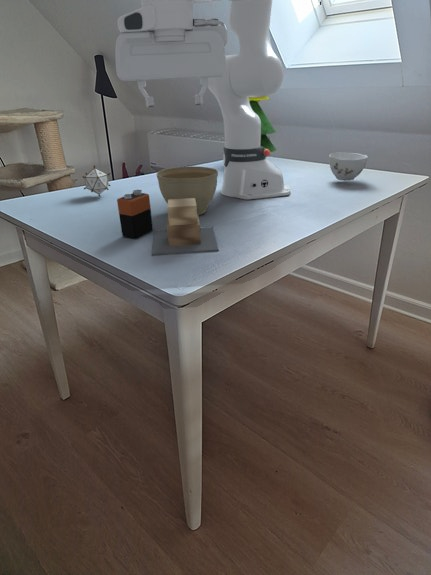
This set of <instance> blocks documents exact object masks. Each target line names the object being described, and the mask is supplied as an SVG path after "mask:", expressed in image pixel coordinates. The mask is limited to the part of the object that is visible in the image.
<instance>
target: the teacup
mask: <svg viewBox="0 0 431 575" xmlns="http://www.w3.org/2000/svg"><path fill="white" fill-rule="evenodd" d="M367 161H368V155H366V154H362V153H356V152H344V151H343V152H341V151H339V152H333V153H330V154H329V155H328V162H329V168H330V171H331V172H332V174H333V175H334V176H335V178H336V179H337V180H339V181H346V182H348V181H354V180H355V178H357V177H358V176H359V175H360V174H361V173H362V171H363V170H364V169H365V167H366V164H367Z"/></svg>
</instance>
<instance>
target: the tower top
mask: <svg viewBox="0 0 431 575" xmlns="http://www.w3.org/2000/svg"><path fill="white" fill-rule="evenodd" d="M167 215H168V216H169V226H172V225H188V224H197V207H196V201H195V198H187V199H169V200H168V204H167Z"/></svg>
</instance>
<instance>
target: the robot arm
mask: <svg viewBox="0 0 431 575" xmlns="http://www.w3.org/2000/svg"><path fill="white" fill-rule="evenodd" d="M217 1H218V2H219V1H220V0H140V4H141V7H140V8H137V9H135V10H133V11H130V12H128V13H125V14H123V15H121V16H119V17H118V18H117V22H116V23H117V29H118V31H119V32H120V33H119V35H118V37H117V38H116V41H115V49H114V50H115V51H114V52H115V53H114V54H115V55H114V56H115V71H116V75H117V77H118V79H119V80H120V81H121V82H133V81H134V82H135V81H137V88H138V90H139V91H140V93H141V94H142V96H143V97H144V99H145V107H146V108H148V109H149V108H155V102H154V101H155V100H154V96H150V95H149V94H148V93H147V91H146V89H145V88H147V82H146V81H154V80H181V79H199V84H200V85H202V87H201V88H200V91H199V93H198V94H195V95H194V99H195V100H194V101H195V102H194V104H195V106H203V105H204V95H205V92H206V90H207V88H208V90H209V91H210V92H211V93H212V95H213V96H214V97H215V99H216V100H217V102H218V106H219V108H220V111H221V115H222V120H223V129H224V147H223V152H222V155H223V156H222V157H223V159H222V160H223V161H222V162H223V165H224V171H223V181H222V186H221V190H220V194H222V195H223V196H226V197H229V198H230V197H231V198H238V199H241V200H246V201H247V200H253V199H255V200H256V199H257V200H258V199H264V198H274V197H281V196H289V195H290V194H291V188H290V186H289V185H287V184H285V183H284V176H283V173H282V171H281V170H280V169H279V168H278V167H277V166H276V165H274V164H273V163H272V162H271V161H269V159H267V157H270V155H271V153H272V152H270V150H268V149H265V148H263V147H262V146H260V143H261V120H260V118H259V116H258V115H257V114H256V113H255V112H254V111H253V110H252V108H251V106H250V103H249V102H250V100H249V99H248V97H264V96H267V97H268V96H270V95H273V94H276V93H277V92H278V91H279V90H280V88H281V86H282V83H283V79H284V68H283V63H282V62H281V59H280V58H279V57H278V55H277V54H276V53H275V52H274V49H273V46H272V42H271V36H270V24H271V16H272V6H273V0H230V1H231V2H230V3H231V4H230V9H229V10H230V11H229V12H230V13H229V20H228V21H229V22H228V26H229V29H230V31H231V33H232V34H233V35H234V36H235V37H236V38H237V39H238V43H239V53H238V54H229V55H227V54H226V50H225V47H226V45H227V43H228V28H227V26H226V25H225V24H224V22H223V21H220V20H219V18H210V19H208V18H206V19H205V18H194V10H193V4H197V3H198V4H200V3H206V2H207V3H210V2H217Z"/></svg>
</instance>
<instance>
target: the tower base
mask: <svg viewBox="0 0 431 575" xmlns="http://www.w3.org/2000/svg"><path fill="white" fill-rule="evenodd" d="M166 219H167V220H166V230H167V232H168V243H169V246H181V245H197V244H201V237H200V228H201V224H200V218H199V215H197V224H188V225H172V226H169V216H167V218H166Z"/></svg>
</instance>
